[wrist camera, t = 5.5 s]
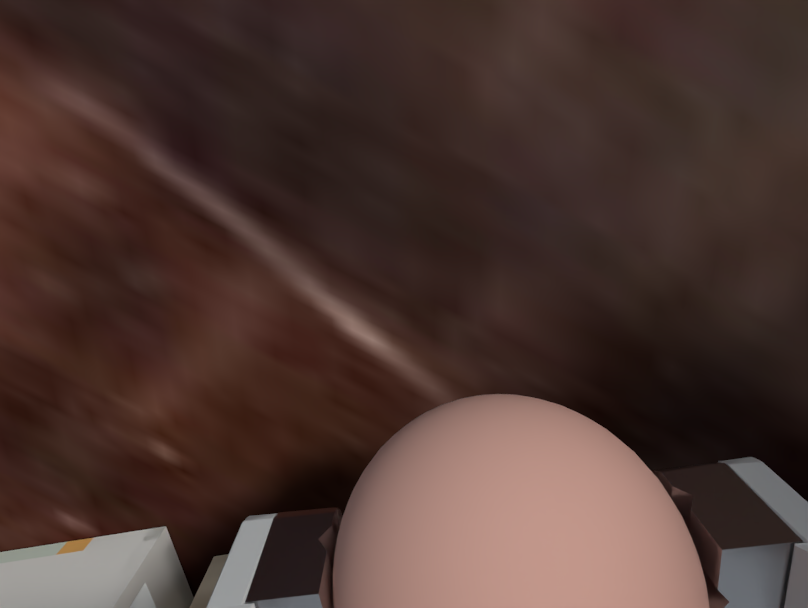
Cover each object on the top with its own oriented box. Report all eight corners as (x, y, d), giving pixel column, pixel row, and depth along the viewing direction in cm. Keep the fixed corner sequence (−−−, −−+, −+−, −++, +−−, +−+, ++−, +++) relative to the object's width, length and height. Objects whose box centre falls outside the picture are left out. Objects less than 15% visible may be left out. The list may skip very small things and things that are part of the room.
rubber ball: (328, 361, 8) (239, 638, 4) (608, 323, 8) (881, 567, 4) (373, 569, 10) (349, 944, 5) (607, 542, 10) (795, 906, 5)
